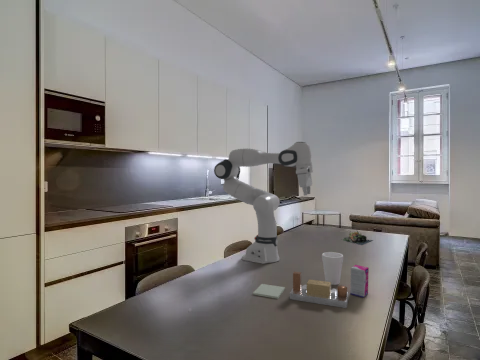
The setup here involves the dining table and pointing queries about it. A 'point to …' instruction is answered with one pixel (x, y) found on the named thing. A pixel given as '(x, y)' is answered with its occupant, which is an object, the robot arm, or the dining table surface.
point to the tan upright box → (319, 287)
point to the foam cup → (332, 267)
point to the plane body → (335, 299)
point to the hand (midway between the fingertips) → (307, 194)
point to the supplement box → (359, 281)
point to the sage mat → (269, 291)
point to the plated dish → (357, 238)
